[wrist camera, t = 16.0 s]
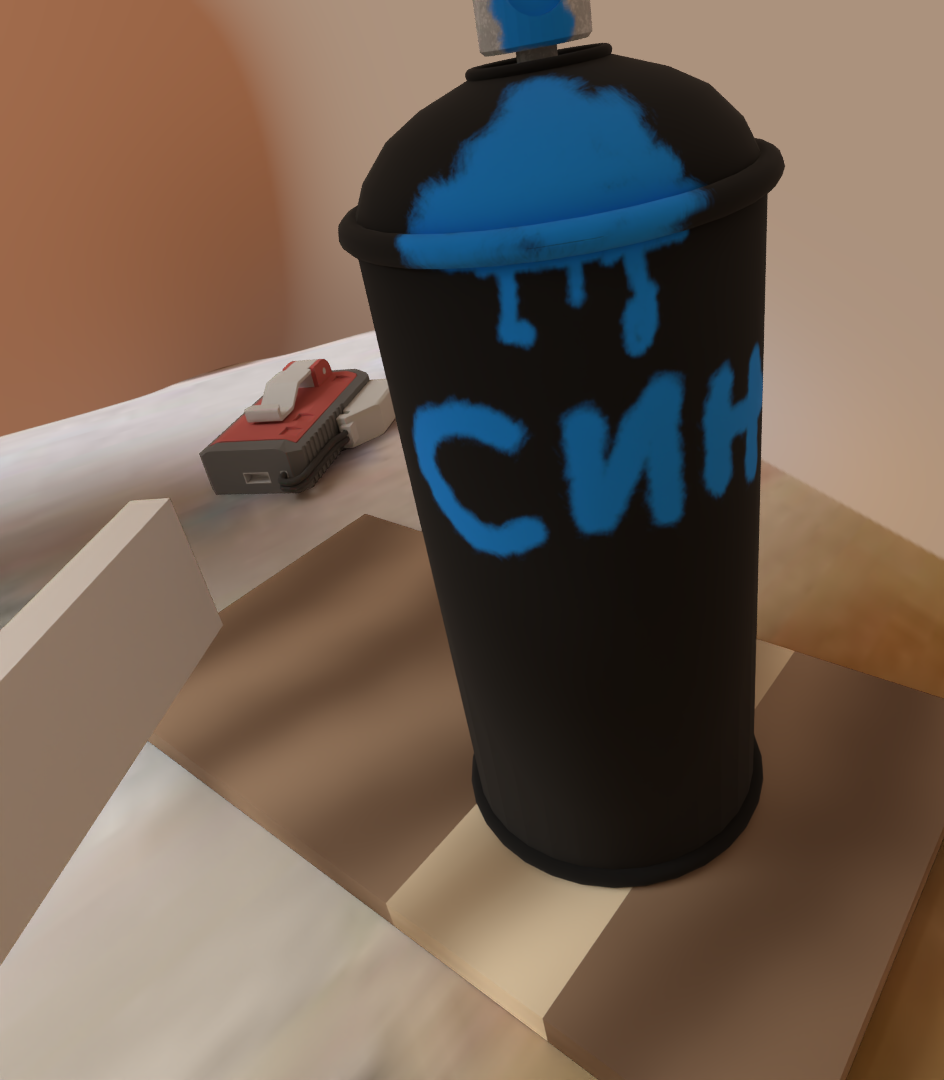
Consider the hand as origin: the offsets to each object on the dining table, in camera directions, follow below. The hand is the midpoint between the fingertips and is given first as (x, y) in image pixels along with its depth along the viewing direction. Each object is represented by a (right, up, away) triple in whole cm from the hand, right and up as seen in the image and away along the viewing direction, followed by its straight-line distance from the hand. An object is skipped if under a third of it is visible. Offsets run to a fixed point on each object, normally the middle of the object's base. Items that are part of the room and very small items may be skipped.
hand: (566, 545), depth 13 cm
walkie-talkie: (-10, +7, +39) cm, 41 cm away
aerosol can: (+3, -7, +11) cm, 13 cm away
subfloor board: (-1, -6, +14) cm, 16 cm away
